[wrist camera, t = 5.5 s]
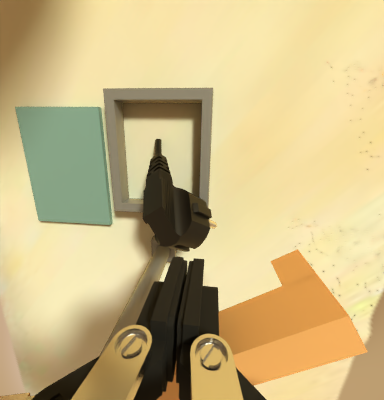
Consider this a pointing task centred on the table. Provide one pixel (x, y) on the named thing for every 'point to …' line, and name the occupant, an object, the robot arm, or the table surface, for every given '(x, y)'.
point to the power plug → (173, 209)
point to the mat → (66, 163)
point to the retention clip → (286, 327)
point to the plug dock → (120, 180)
